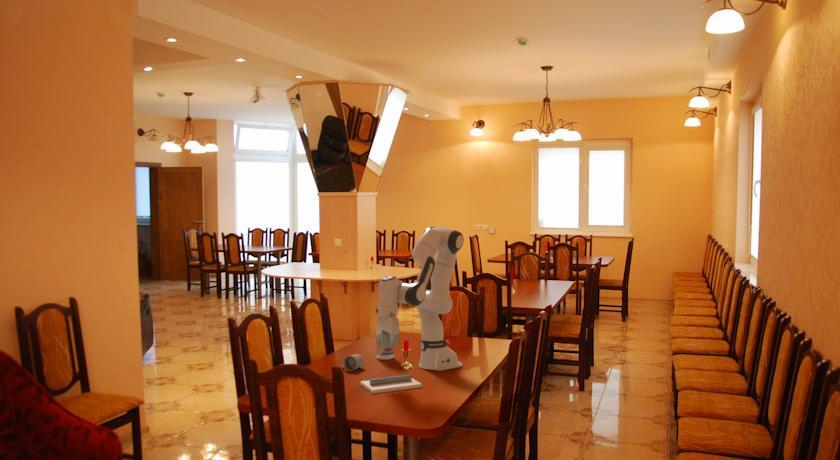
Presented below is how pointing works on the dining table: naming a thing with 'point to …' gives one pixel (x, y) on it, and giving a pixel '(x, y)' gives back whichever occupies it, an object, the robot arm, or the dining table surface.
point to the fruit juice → (383, 350)
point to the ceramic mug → (353, 362)
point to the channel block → (386, 340)
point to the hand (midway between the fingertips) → (387, 340)
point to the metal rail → (390, 380)
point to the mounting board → (390, 386)
